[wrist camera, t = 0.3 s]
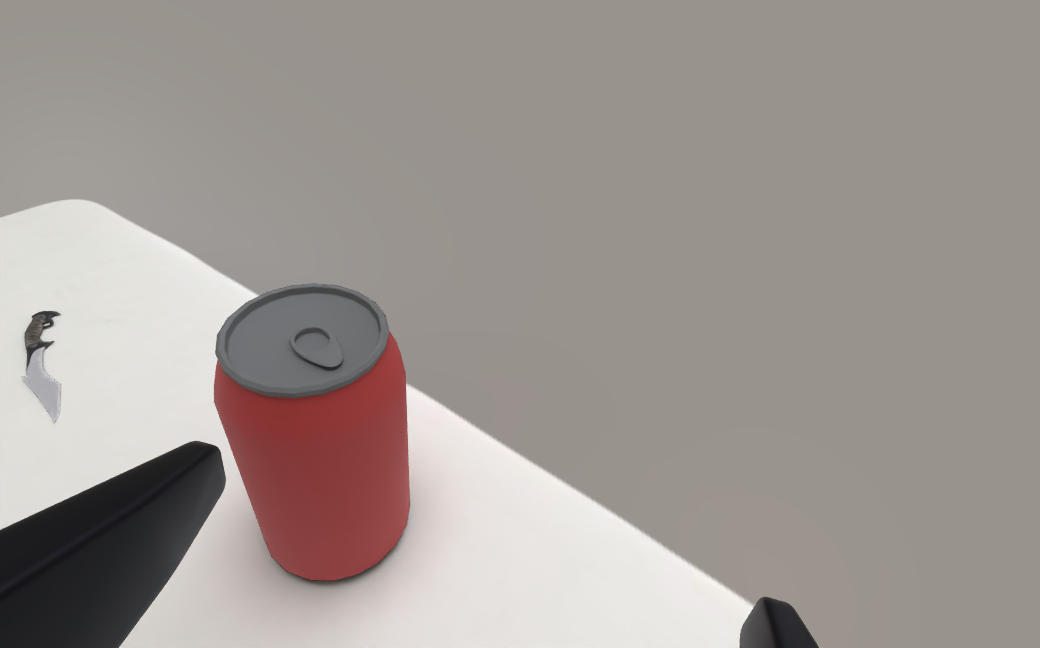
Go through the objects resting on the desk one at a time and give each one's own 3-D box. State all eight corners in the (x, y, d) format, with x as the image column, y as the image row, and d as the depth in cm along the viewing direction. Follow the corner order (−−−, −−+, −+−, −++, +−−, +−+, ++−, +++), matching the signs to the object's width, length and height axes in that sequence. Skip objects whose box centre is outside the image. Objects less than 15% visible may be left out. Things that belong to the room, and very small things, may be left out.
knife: (26, 315, 35) (24, 312, 34) (62, 310, 35) (60, 306, 35) (18, 434, 28) (16, 430, 28) (61, 423, 29) (59, 420, 29)
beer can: (312, 620, 23) (256, 440, 16) (239, 513, 26) (162, 319, 19) (437, 523, 27) (442, 341, 19) (360, 439, 30) (338, 254, 23)
